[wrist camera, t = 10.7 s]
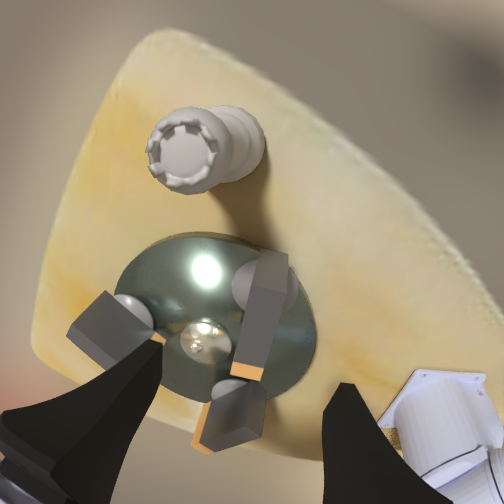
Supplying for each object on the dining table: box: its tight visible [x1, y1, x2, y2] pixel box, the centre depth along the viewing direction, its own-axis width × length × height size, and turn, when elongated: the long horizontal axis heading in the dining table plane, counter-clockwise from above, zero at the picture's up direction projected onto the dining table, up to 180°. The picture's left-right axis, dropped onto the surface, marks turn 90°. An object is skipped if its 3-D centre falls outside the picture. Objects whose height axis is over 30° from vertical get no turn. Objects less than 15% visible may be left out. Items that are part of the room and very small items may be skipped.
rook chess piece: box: [145, 105, 265, 195], centre depth 13 cm, size 4×4×8 cm
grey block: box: [230, 248, 298, 381], centre depth 16 cm, size 6×4×5 cm
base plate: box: [114, 232, 316, 403], centre depth 21 cm, size 15×15×2 cm
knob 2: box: [191, 379, 267, 455], centre depth 20 cm, size 6×4×5 cm
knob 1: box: [66, 290, 166, 371], centre depth 19 cm, size 6×4×5 cm
